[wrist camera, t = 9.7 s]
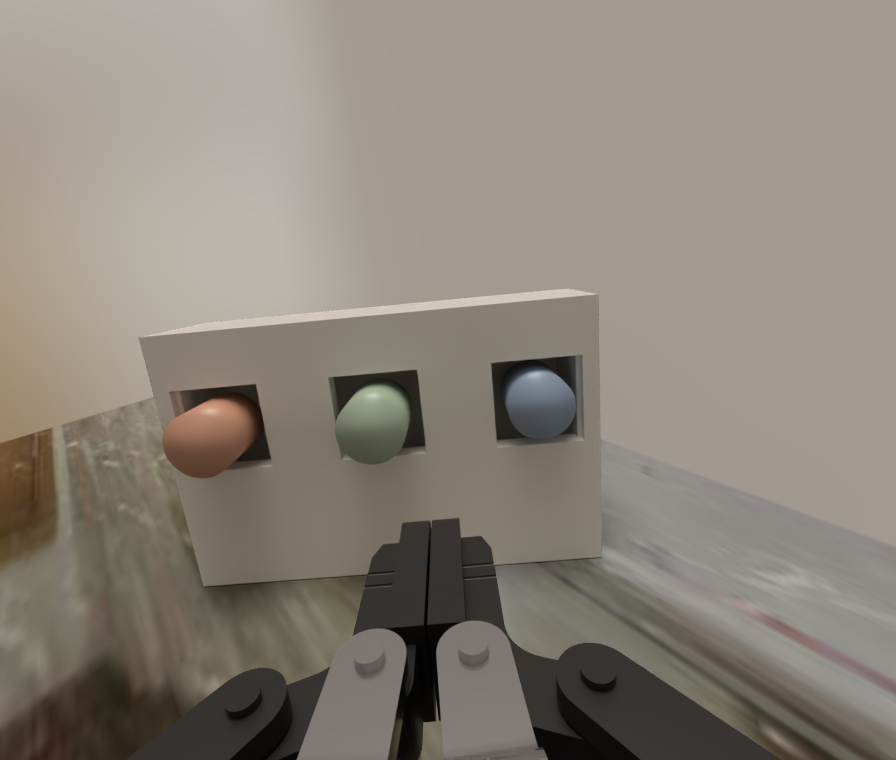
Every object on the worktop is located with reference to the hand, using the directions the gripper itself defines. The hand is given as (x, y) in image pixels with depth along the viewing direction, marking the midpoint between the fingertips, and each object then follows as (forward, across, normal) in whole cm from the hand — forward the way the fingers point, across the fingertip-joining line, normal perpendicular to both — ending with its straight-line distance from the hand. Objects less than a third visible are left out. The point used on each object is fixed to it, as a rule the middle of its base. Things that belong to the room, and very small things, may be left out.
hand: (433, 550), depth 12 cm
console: (+14, +3, +9) cm, 17 cm away
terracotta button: (+11, +11, +1) cm, 16 cm away
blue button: (+12, -5, +1) cm, 13 cm away
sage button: (+11, +3, +1) cm, 11 cm away
